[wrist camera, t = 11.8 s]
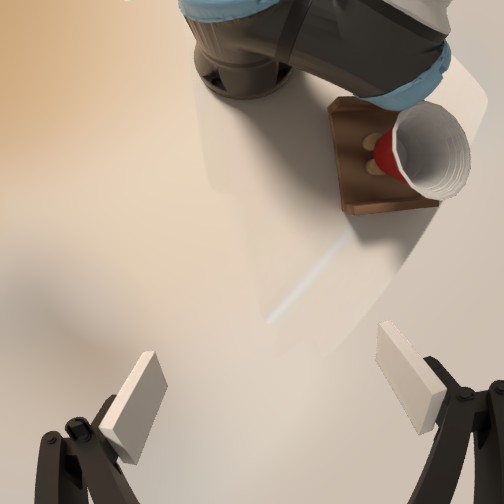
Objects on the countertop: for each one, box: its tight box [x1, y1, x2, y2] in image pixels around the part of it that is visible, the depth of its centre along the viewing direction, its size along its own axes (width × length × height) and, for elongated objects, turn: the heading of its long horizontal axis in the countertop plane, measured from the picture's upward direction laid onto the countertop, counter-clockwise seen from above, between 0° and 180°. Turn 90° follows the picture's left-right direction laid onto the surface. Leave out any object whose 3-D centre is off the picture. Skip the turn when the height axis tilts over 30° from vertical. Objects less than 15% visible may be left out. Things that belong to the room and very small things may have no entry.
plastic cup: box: [373, 101, 471, 201], centre depth 29 cm, size 11×11×12 cm
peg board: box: [328, 96, 439, 215], centre depth 36 cm, size 16×14×6 cm
